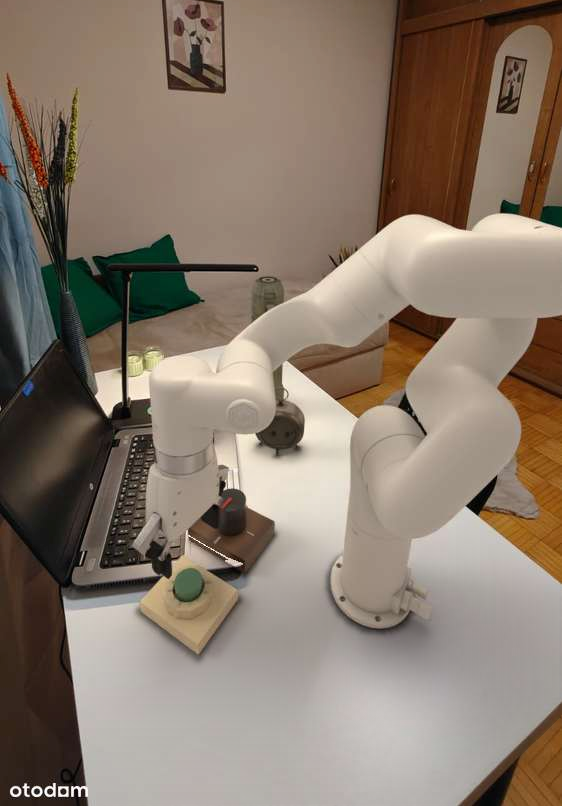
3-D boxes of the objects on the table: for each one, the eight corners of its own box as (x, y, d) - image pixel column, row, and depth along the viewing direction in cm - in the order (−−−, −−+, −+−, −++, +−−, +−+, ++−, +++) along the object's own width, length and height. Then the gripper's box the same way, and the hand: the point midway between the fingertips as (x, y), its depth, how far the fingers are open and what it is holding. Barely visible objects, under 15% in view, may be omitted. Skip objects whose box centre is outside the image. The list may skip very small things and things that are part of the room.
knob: (228, 508, 79) (228, 482, 77) (251, 520, 77) (251, 494, 75) (211, 527, 75) (209, 501, 73) (234, 541, 73) (234, 514, 71)
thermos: (255, 425, 107) (256, 288, 94) (244, 399, 117) (243, 273, 105) (290, 419, 110) (295, 285, 97) (275, 394, 120) (278, 271, 107)
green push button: (208, 584, 65) (207, 576, 64) (189, 607, 62) (189, 599, 61) (187, 571, 67) (187, 563, 66) (169, 593, 64) (168, 584, 63)
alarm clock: (303, 444, 101) (306, 382, 95) (302, 460, 96) (305, 396, 90) (256, 440, 102) (256, 379, 96) (252, 456, 97) (252, 392, 91)
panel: (274, 533, 78) (275, 520, 77) (244, 574, 70) (244, 560, 69) (221, 505, 84) (220, 492, 82) (188, 540, 76) (187, 526, 75)
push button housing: (237, 599, 67) (237, 581, 65) (198, 655, 59) (197, 635, 58) (183, 564, 72) (181, 546, 70) (140, 611, 65) (138, 592, 63)
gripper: (206, 408, 66) (207, 497, 72) (108, 476, 52) (120, 579, 58) (247, 426, 62) (244, 518, 68) (153, 504, 48) (160, 611, 54)
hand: (187, 546), depth 63 cm, fingers open, 9 cm apart
